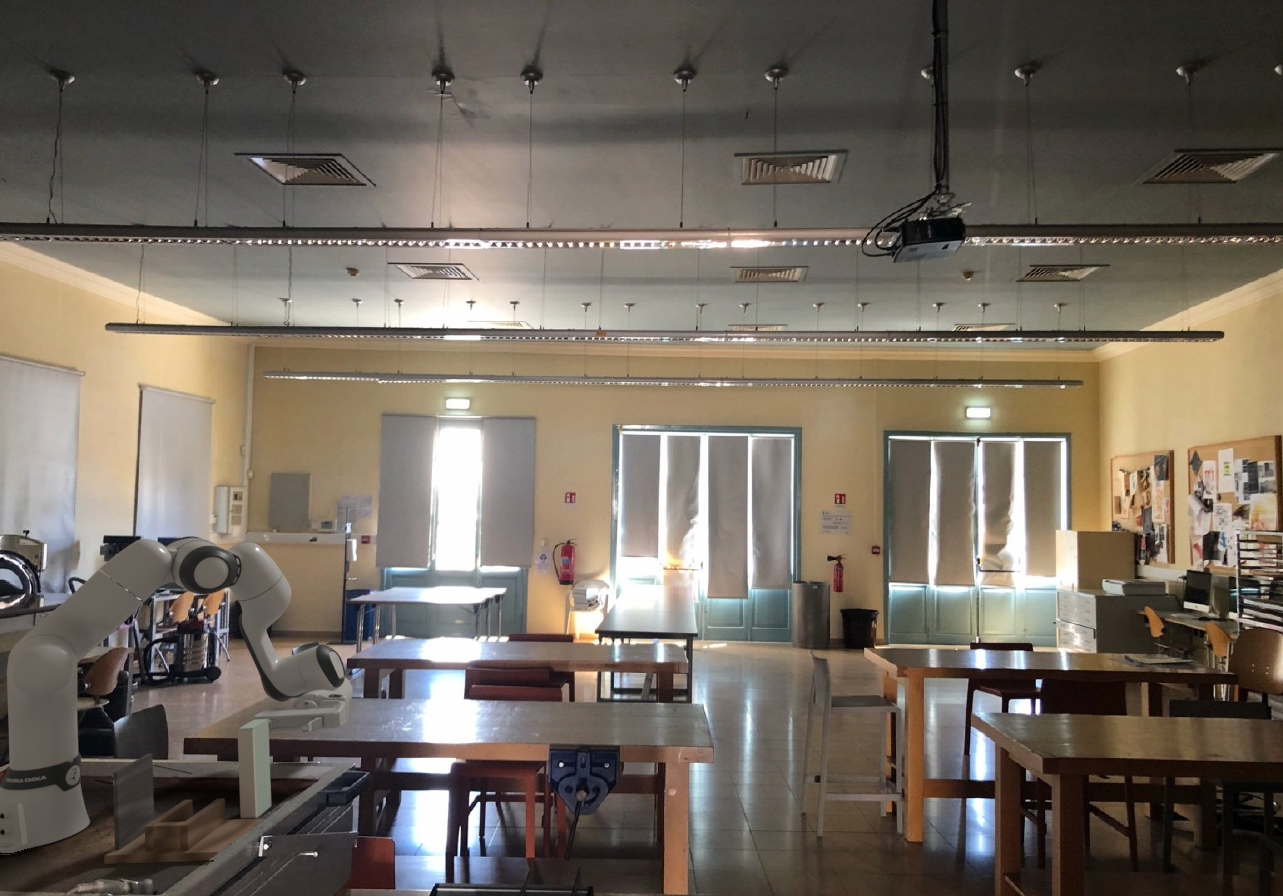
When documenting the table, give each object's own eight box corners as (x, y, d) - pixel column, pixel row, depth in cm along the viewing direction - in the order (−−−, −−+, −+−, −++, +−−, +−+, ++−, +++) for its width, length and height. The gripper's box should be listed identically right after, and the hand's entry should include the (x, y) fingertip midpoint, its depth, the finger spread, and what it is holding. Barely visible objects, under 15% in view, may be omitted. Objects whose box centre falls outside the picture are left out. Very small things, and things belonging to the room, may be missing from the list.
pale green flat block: (240, 819, 164) (237, 729, 164) (257, 806, 170) (253, 719, 171) (255, 818, 164) (252, 728, 164) (271, 806, 170) (268, 718, 170)
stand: (104, 863, 147) (101, 776, 147) (154, 829, 161) (151, 750, 161) (223, 860, 146) (220, 772, 146) (263, 826, 160) (260, 746, 160)
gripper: (269, 699, 194) (238, 717, 180) (353, 695, 193) (328, 712, 179) (270, 725, 194) (239, 745, 180) (355, 721, 193) (330, 741, 179)
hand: (284, 729), depth 180 cm, fingers open, 8 cm apart
